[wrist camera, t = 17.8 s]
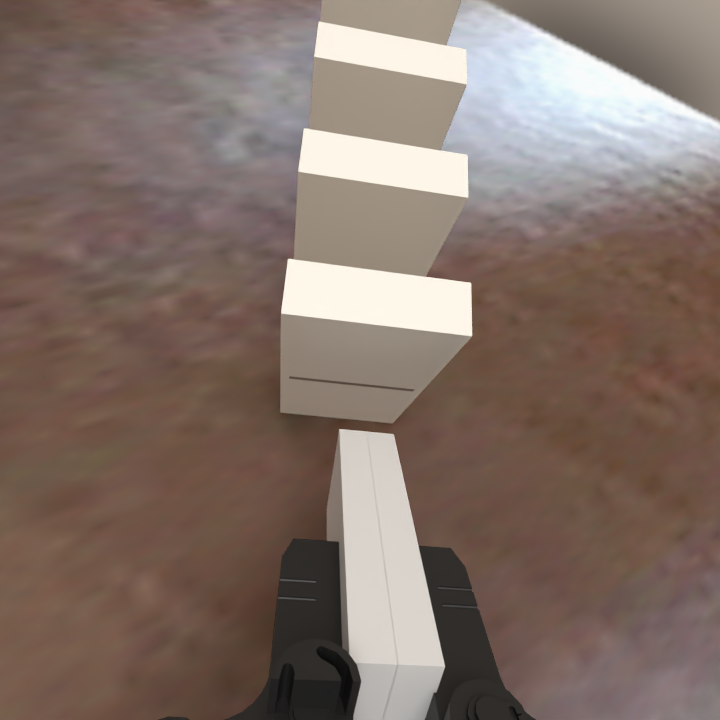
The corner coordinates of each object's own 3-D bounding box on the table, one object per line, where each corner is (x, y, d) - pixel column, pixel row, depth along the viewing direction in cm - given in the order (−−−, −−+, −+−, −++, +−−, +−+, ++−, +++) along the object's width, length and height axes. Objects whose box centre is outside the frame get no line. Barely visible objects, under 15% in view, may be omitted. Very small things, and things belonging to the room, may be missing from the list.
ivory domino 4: (392, 423, 23) (472, 336, 13) (280, 412, 22) (280, 313, 13) (394, 389, 23) (470, 282, 14) (284, 377, 23) (288, 258, 13)
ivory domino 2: (399, 251, 26) (467, 84, 16) (301, 237, 25) (314, 56, 16) (400, 224, 26) (466, 49, 17) (304, 210, 26) (318, 21, 16)
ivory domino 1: (401, 180, 27) (463, -8, 18) (309, 166, 27) (325, -36, 17) (402, 156, 28) (463, -37, 19) (312, 142, 27) (328, -66, 18)
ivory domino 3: (395, 332, 24) (468, 198, 15) (290, 319, 24) (298, 171, 14) (396, 302, 25) (467, 154, 15) (294, 289, 24) (303, 127, 15)
